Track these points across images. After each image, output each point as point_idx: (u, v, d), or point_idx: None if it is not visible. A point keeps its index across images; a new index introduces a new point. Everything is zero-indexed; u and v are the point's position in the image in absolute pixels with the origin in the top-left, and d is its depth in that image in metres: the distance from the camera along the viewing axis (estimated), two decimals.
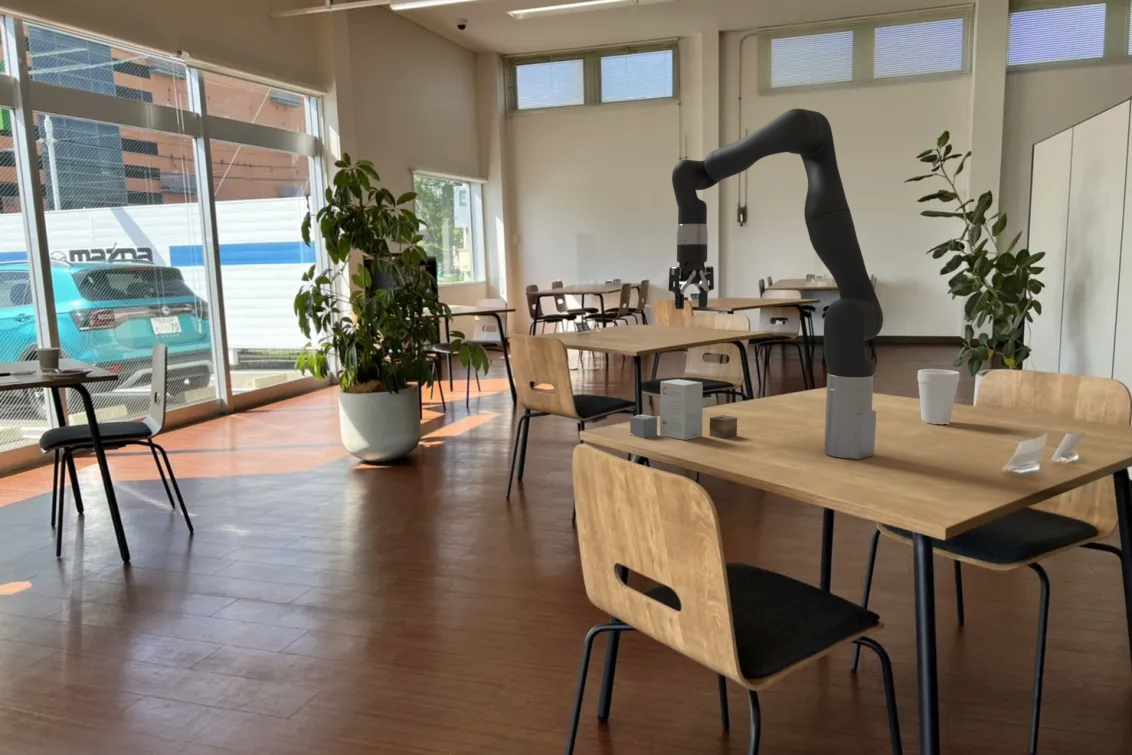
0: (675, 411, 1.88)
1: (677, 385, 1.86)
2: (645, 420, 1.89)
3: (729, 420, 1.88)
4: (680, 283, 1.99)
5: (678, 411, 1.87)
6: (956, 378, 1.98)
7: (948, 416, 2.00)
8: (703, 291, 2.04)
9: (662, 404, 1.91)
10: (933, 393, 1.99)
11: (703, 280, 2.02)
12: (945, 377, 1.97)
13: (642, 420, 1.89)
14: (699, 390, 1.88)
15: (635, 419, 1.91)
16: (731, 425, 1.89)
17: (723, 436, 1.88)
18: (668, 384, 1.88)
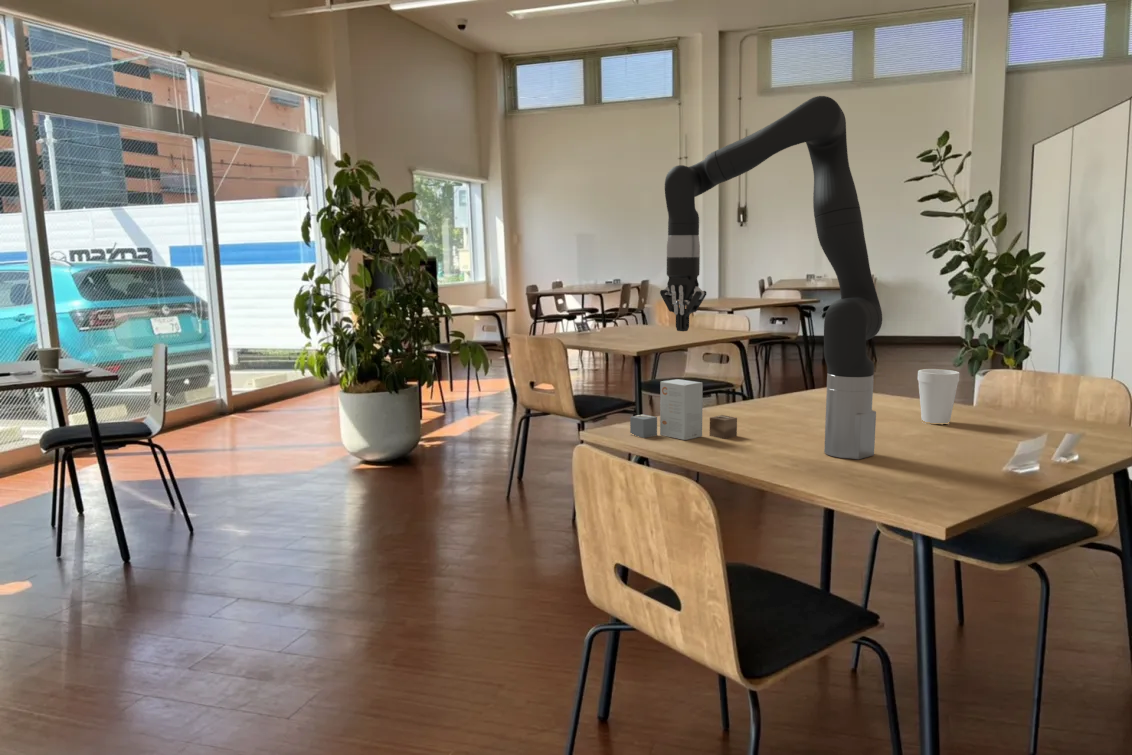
0: (675, 411, 1.88)
1: (677, 385, 1.86)
2: (645, 420, 1.89)
3: (729, 420, 1.88)
4: (687, 303, 1.85)
5: (678, 411, 1.87)
6: (956, 378, 1.98)
7: (948, 416, 2.00)
8: None
9: (662, 404, 1.91)
10: (933, 393, 1.99)
11: None
12: (945, 377, 1.97)
13: (642, 420, 1.89)
14: (699, 390, 1.88)
15: (635, 419, 1.91)
16: (731, 425, 1.89)
17: (723, 436, 1.88)
18: (668, 384, 1.88)
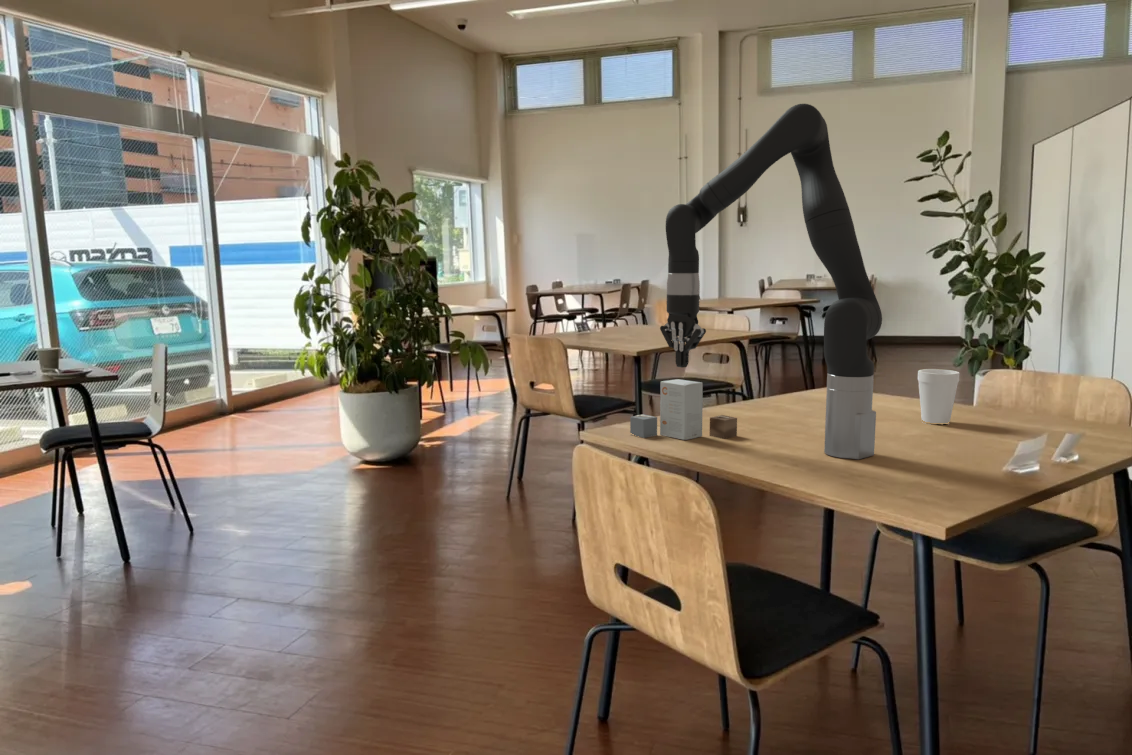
0: (675, 411, 1.88)
1: (677, 385, 1.86)
2: (645, 420, 1.89)
3: (729, 420, 1.88)
4: (686, 340, 1.87)
5: (678, 411, 1.87)
6: (956, 378, 1.98)
7: (948, 416, 2.00)
8: None
9: (662, 404, 1.91)
10: (933, 393, 1.99)
11: None
12: (945, 377, 1.97)
13: (642, 420, 1.89)
14: (699, 390, 1.88)
15: (635, 419, 1.91)
16: (731, 425, 1.89)
17: (723, 436, 1.88)
18: (668, 384, 1.88)
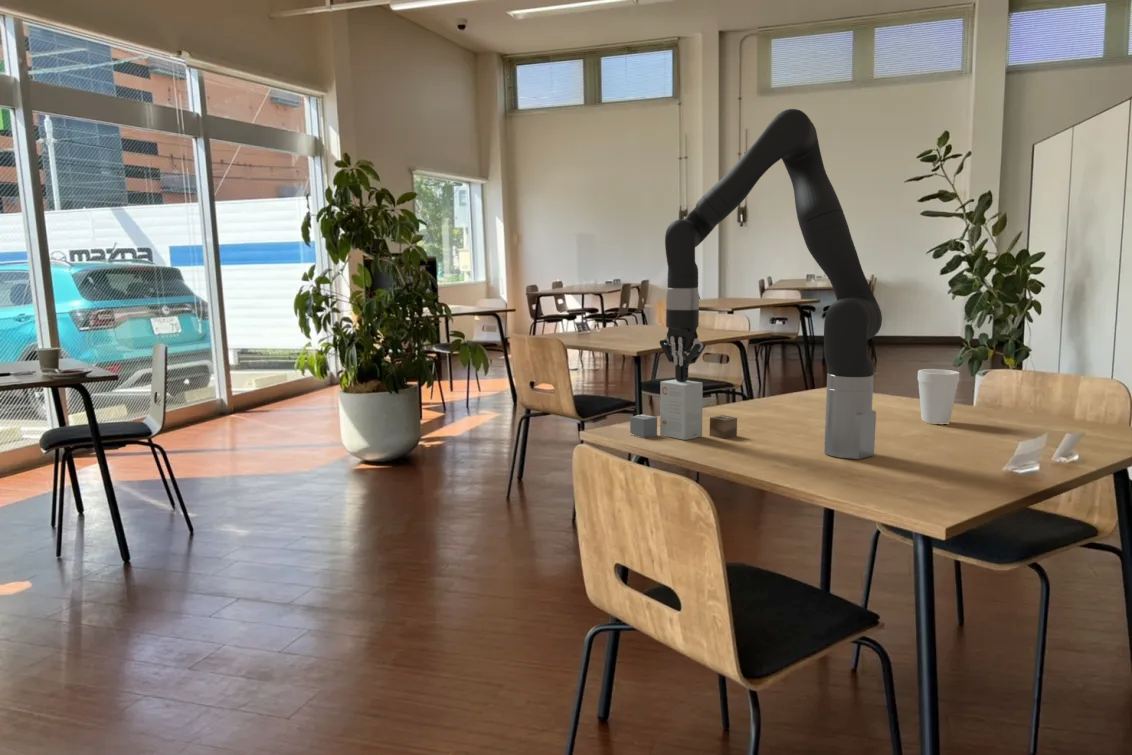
0: (675, 411, 1.88)
1: (677, 385, 1.86)
2: (645, 420, 1.89)
3: (729, 420, 1.88)
4: (686, 355, 1.87)
5: (678, 411, 1.87)
6: (956, 378, 1.98)
7: (948, 416, 2.00)
8: None
9: (662, 404, 1.91)
10: (933, 393, 1.99)
11: None
12: (945, 378, 1.97)
13: (642, 420, 1.89)
14: (699, 390, 1.88)
15: (635, 419, 1.91)
16: (732, 425, 1.89)
17: (723, 436, 1.88)
18: (668, 384, 1.88)
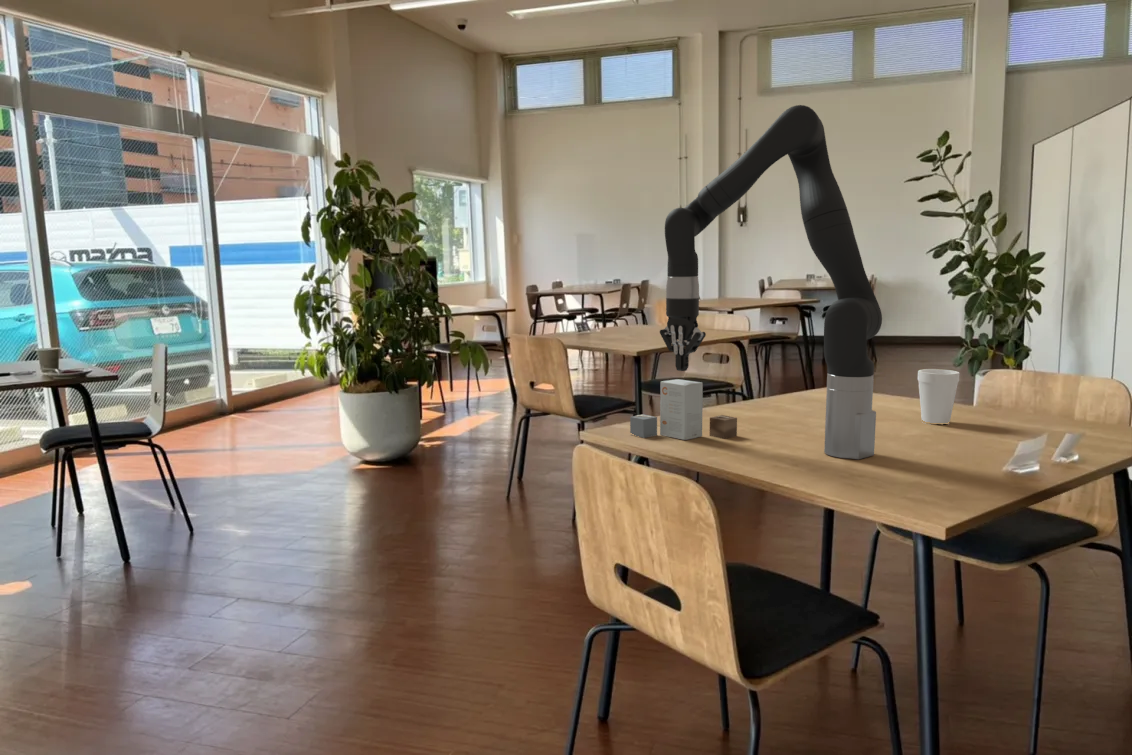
0: (675, 411, 1.88)
1: (677, 385, 1.86)
2: (645, 420, 1.89)
3: (729, 420, 1.88)
4: (686, 344, 1.87)
5: (678, 411, 1.87)
6: (956, 378, 1.98)
7: (948, 416, 2.00)
8: None
9: (662, 404, 1.91)
10: (933, 393, 1.99)
11: None
12: (945, 378, 1.97)
13: (642, 420, 1.89)
14: (699, 390, 1.88)
15: (635, 419, 1.91)
16: (731, 425, 1.89)
17: (723, 436, 1.88)
18: (668, 384, 1.88)
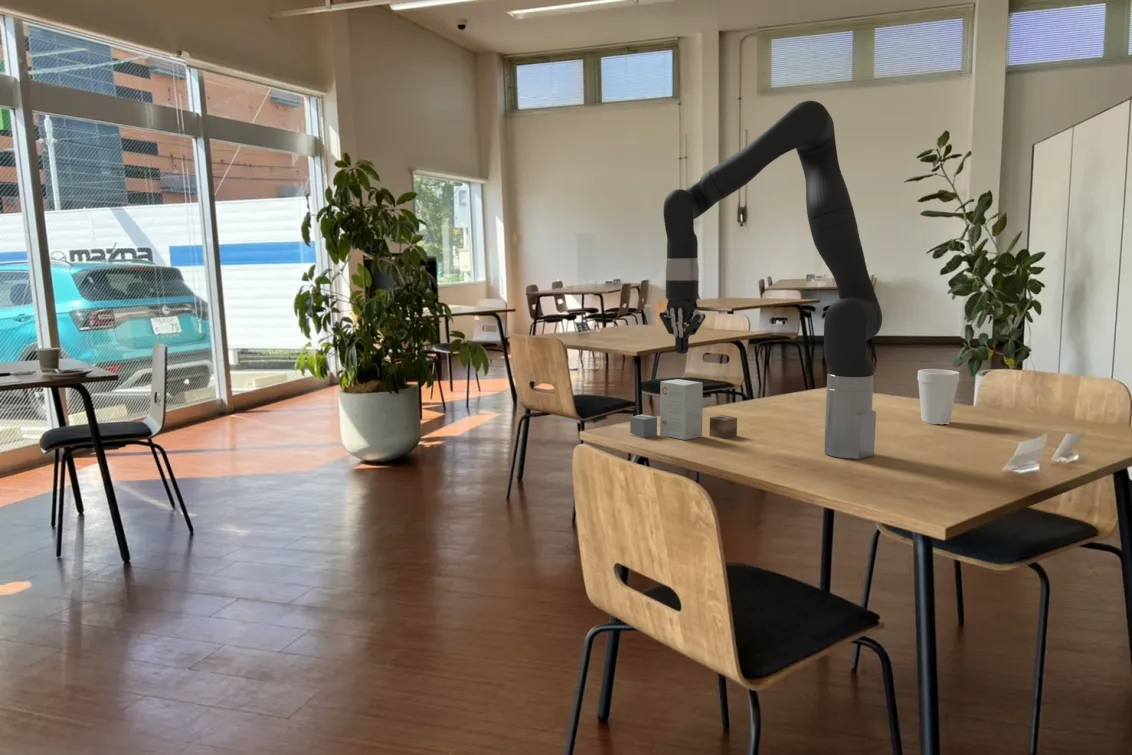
0: (675, 411, 1.88)
1: (677, 385, 1.86)
2: (645, 420, 1.89)
3: (729, 420, 1.88)
4: (686, 326, 1.86)
5: (678, 411, 1.87)
6: (956, 378, 1.98)
7: (948, 416, 2.00)
8: None
9: (662, 404, 1.91)
10: (933, 393, 1.99)
11: None
12: (945, 378, 1.97)
13: (642, 420, 1.89)
14: (699, 390, 1.88)
15: (635, 419, 1.91)
16: (732, 425, 1.89)
17: (723, 436, 1.88)
18: (668, 384, 1.88)
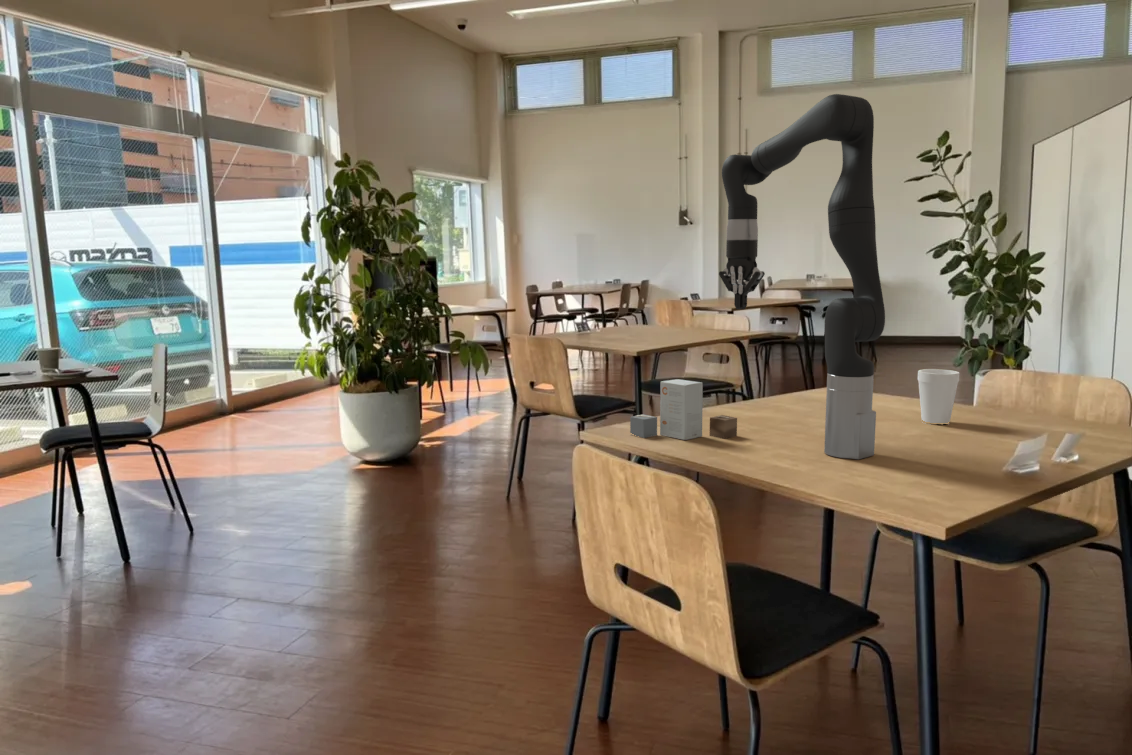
0: (675, 411, 1.88)
1: (677, 385, 1.86)
2: (645, 420, 1.89)
3: (729, 420, 1.88)
4: (745, 283, 1.98)
5: (678, 411, 1.87)
6: (956, 378, 1.98)
7: (948, 416, 2.00)
8: None
9: (662, 404, 1.91)
10: (933, 393, 1.99)
11: None
12: (945, 378, 1.97)
13: (642, 420, 1.89)
14: (699, 390, 1.88)
15: (635, 419, 1.91)
16: (732, 425, 1.89)
17: (723, 436, 1.88)
18: (668, 384, 1.88)
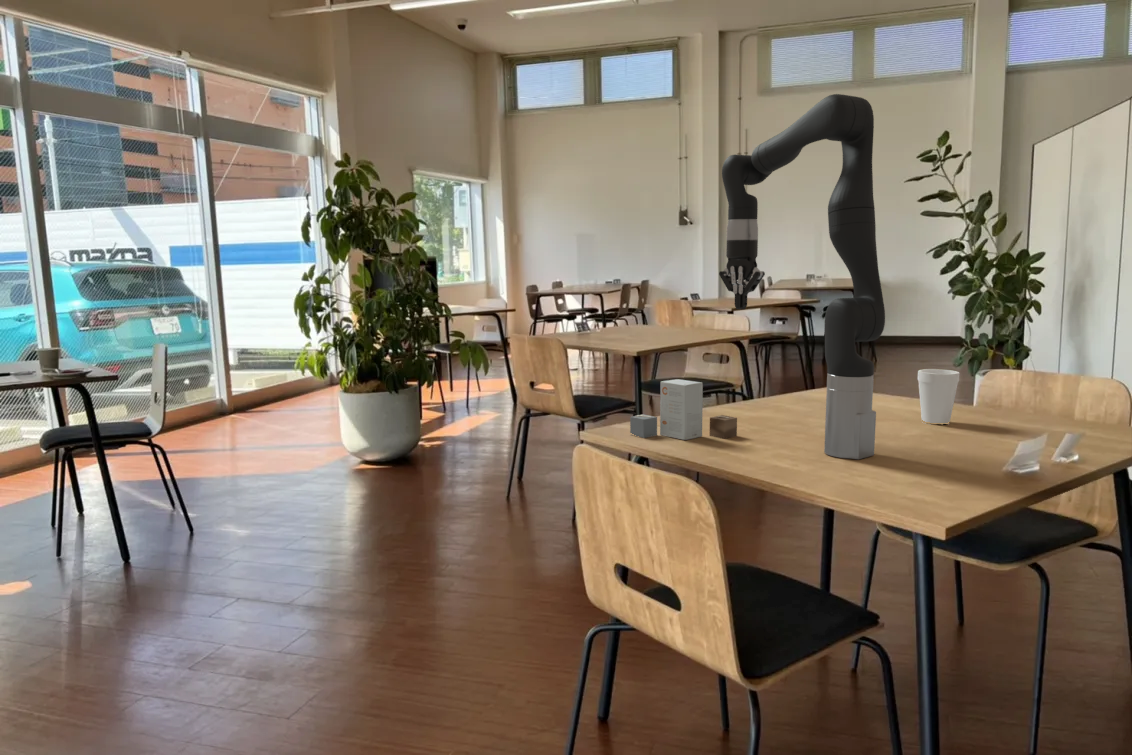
0: (675, 411, 1.88)
1: (677, 385, 1.86)
2: (645, 420, 1.89)
3: (729, 420, 1.88)
4: (745, 283, 1.98)
5: (678, 411, 1.87)
6: (956, 378, 1.98)
7: (948, 416, 2.00)
8: None
9: (662, 404, 1.91)
10: (933, 393, 1.99)
11: None
12: (945, 378, 1.97)
13: (642, 420, 1.89)
14: (699, 390, 1.88)
15: (635, 419, 1.91)
16: (732, 425, 1.89)
17: (723, 436, 1.88)
18: (668, 384, 1.88)
